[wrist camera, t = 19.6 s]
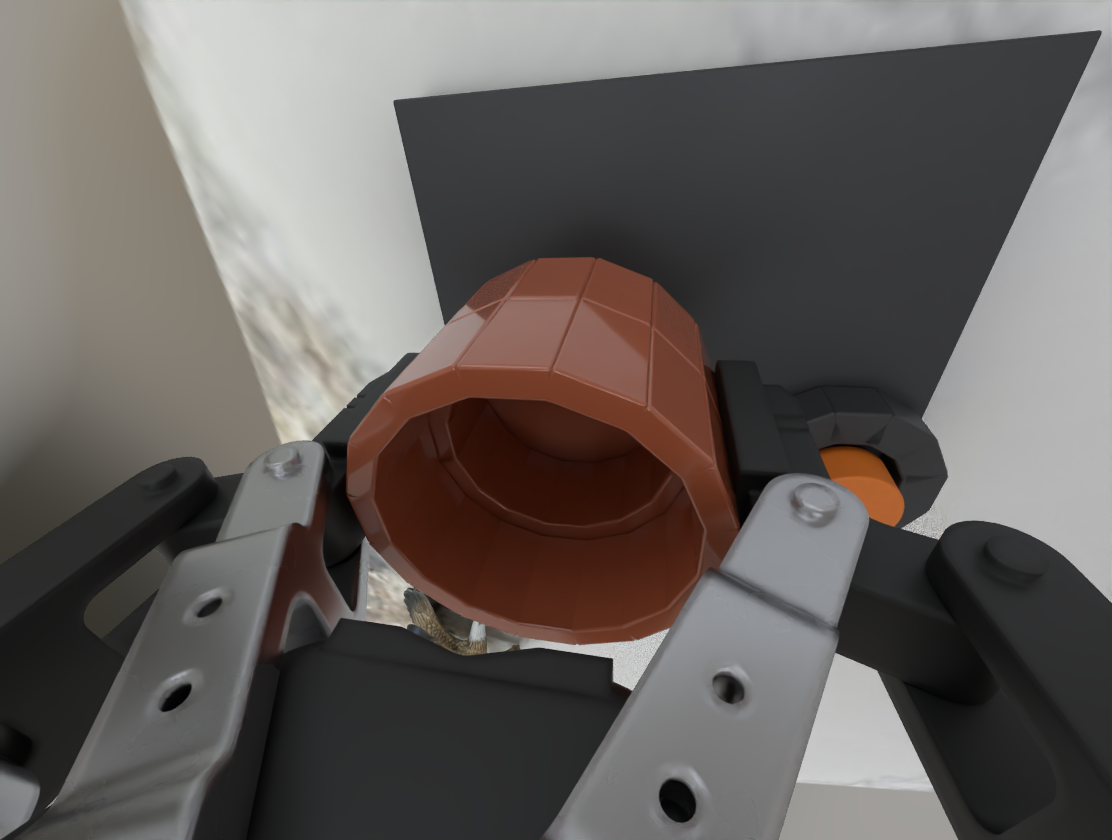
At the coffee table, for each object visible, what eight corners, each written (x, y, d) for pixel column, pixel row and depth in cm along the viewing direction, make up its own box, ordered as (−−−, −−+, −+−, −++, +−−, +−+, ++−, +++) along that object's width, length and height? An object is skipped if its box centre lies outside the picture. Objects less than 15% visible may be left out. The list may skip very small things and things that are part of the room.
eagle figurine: (552, 628, 28) (405, 594, 26) (521, 763, 26) (357, 739, 24) (519, 609, 35) (402, 581, 33) (492, 713, 33) (364, 691, 31)
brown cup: (727, 244, 9) (778, 373, 5) (695, 481, 12) (710, 666, 8) (431, 252, 10) (280, 360, 6) (479, 465, 14) (403, 621, 10)
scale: (1066, 35, 11) (1205, 18, 8) (870, 486, 19) (905, 554, 16) (421, 99, 14) (360, 102, 11) (494, 460, 22) (469, 512, 20)
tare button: (899, 447, 14) (921, 481, 13) (869, 514, 16) (886, 550, 15) (795, 441, 15) (807, 473, 14) (777, 507, 17) (786, 540, 15)
